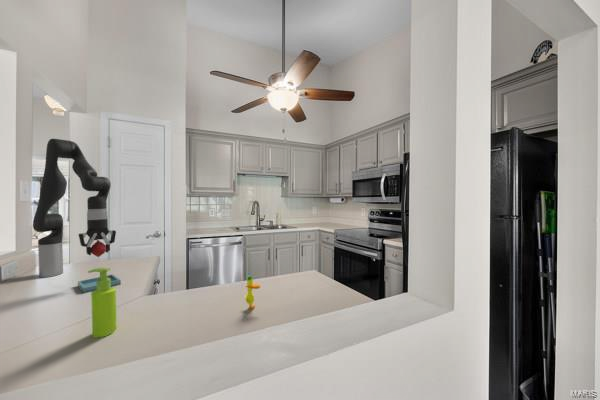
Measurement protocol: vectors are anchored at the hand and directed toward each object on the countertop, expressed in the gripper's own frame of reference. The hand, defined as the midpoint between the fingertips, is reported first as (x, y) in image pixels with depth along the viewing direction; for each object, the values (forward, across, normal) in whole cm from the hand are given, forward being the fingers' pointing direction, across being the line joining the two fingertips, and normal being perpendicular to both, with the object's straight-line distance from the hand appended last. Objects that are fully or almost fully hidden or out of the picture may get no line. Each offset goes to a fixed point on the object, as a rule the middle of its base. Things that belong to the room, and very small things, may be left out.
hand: (98, 253), depth 117 cm
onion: (+2, 0, 0) cm, 2 cm away
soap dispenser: (+15, +9, +53) cm, 56 cm away
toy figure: (+15, -31, +76) cm, 84 cm away
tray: (+15, 0, 0) cm, 15 cm away
